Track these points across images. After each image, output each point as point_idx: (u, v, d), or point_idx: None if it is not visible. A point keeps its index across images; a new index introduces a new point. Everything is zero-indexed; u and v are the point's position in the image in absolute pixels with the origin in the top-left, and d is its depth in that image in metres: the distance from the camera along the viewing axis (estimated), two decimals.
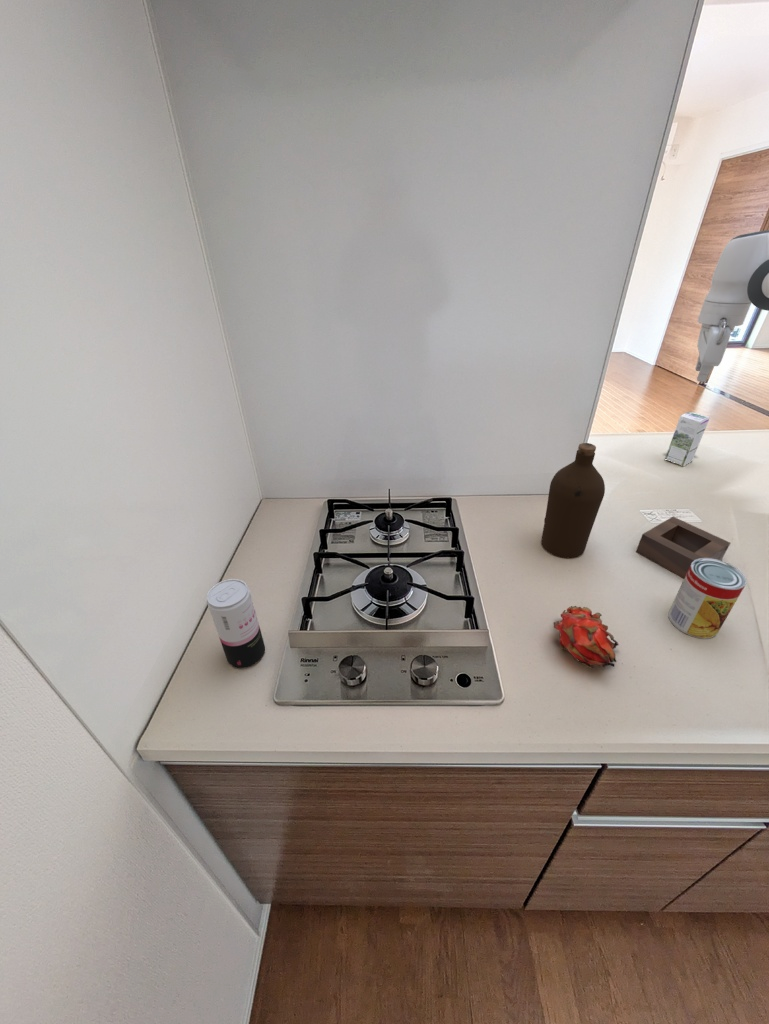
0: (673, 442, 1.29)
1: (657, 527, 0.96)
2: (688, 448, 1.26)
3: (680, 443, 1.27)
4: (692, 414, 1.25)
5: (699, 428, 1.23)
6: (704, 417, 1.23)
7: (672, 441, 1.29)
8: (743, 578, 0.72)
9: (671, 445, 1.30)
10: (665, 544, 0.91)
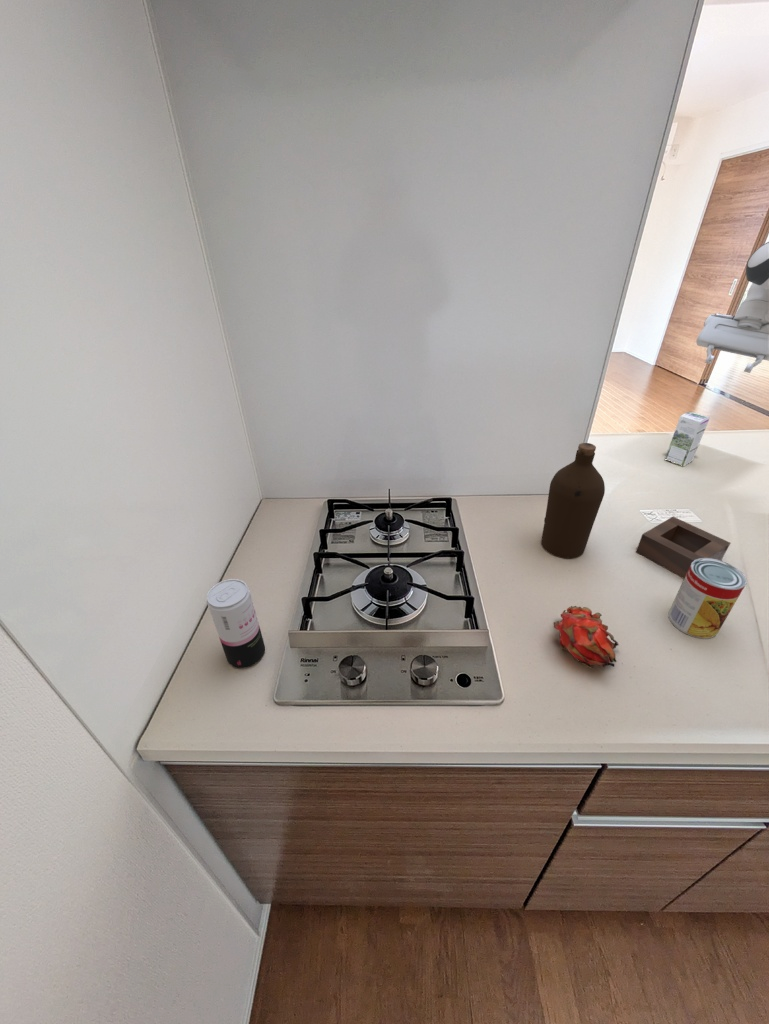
0: (673, 442, 1.29)
1: (657, 527, 0.96)
2: (688, 448, 1.26)
3: (680, 443, 1.27)
4: (692, 414, 1.25)
5: (699, 428, 1.23)
6: (704, 417, 1.23)
7: (672, 441, 1.29)
8: (743, 578, 0.72)
9: (671, 445, 1.30)
10: (665, 544, 0.91)
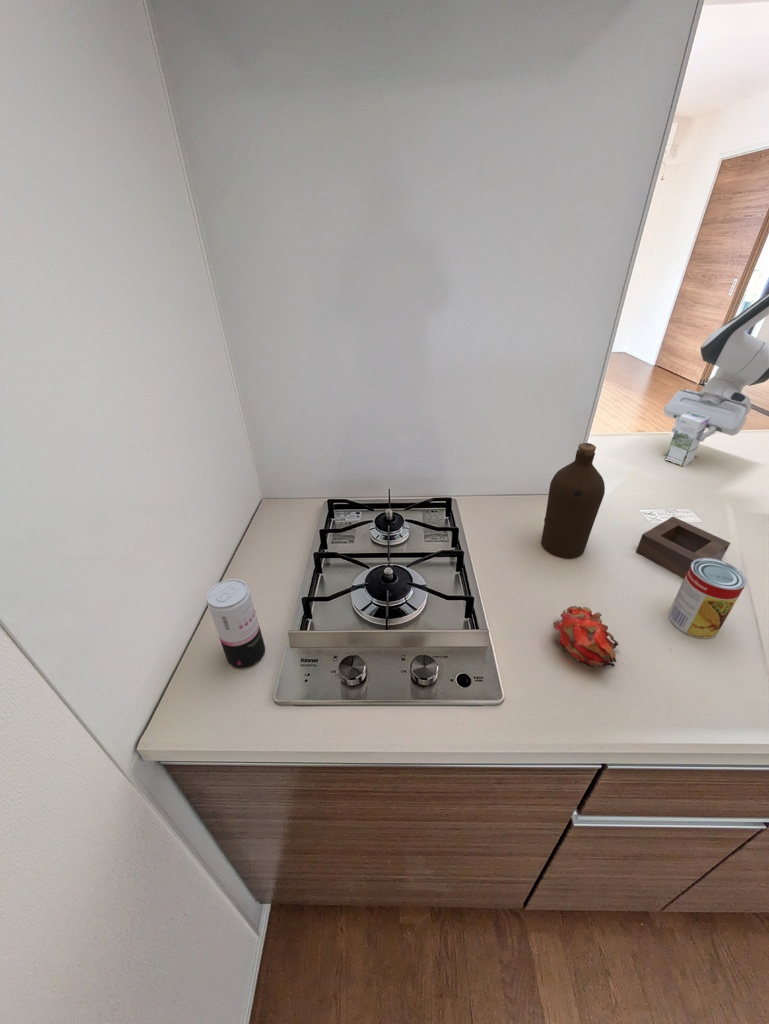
0: (673, 442, 1.29)
1: (657, 527, 0.96)
2: (688, 448, 1.26)
3: (680, 443, 1.27)
4: (692, 414, 1.25)
5: (699, 428, 1.23)
6: (704, 417, 1.23)
7: (672, 441, 1.29)
8: (743, 578, 0.72)
9: (671, 445, 1.30)
10: (665, 544, 0.91)
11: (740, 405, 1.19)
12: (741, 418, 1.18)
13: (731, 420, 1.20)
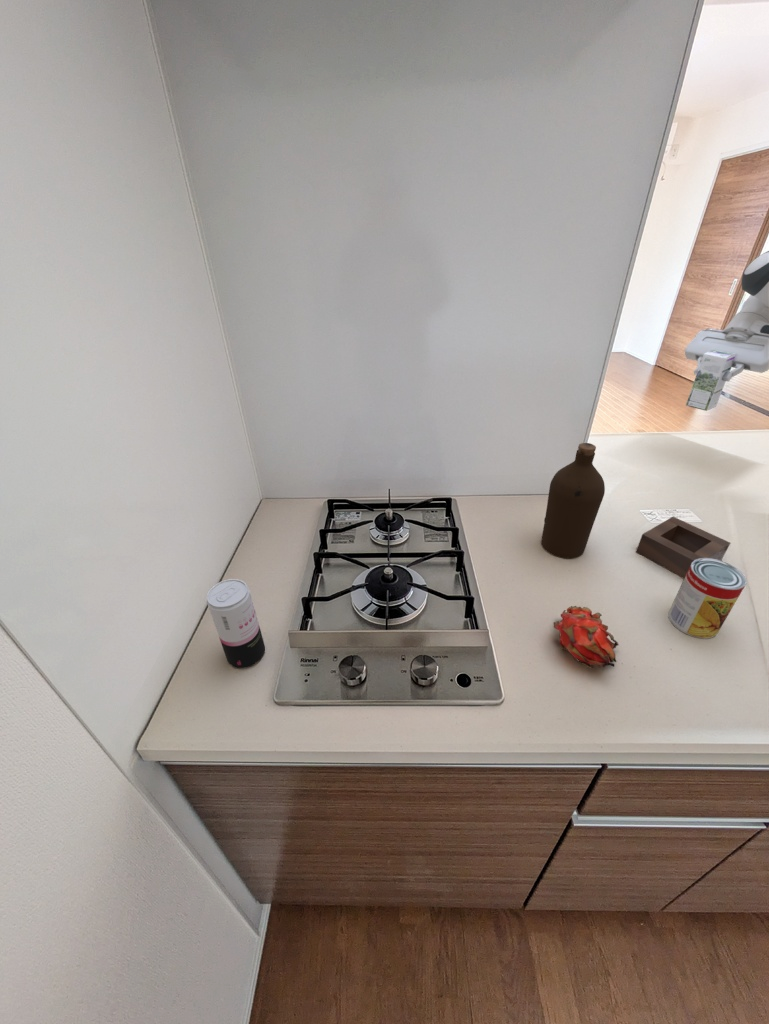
0: (695, 384, 1.19)
1: (657, 527, 0.96)
2: (713, 389, 1.15)
3: (703, 384, 1.17)
4: (717, 352, 1.15)
5: (725, 366, 1.12)
6: (730, 354, 1.13)
7: (694, 383, 1.19)
8: (743, 578, 0.72)
9: (693, 388, 1.19)
10: (665, 544, 0.91)
11: None
12: None
13: (760, 355, 1.09)
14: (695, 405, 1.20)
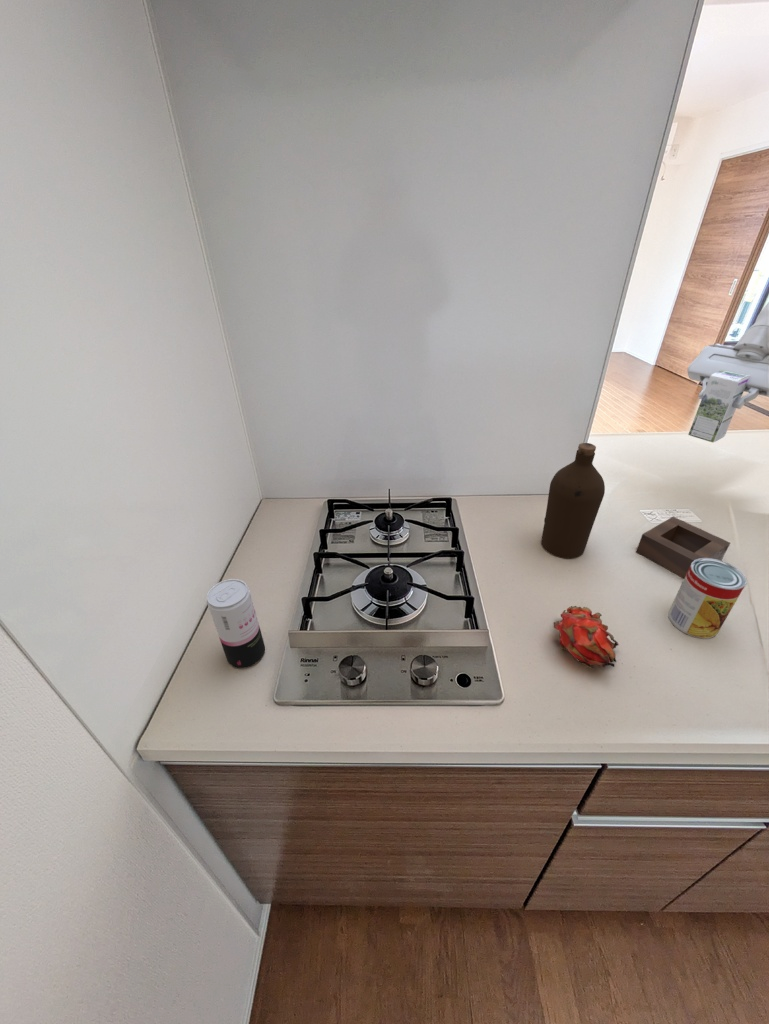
0: (700, 410, 0.99)
1: (657, 527, 0.96)
2: (721, 418, 0.96)
3: (710, 411, 0.98)
4: (726, 373, 0.95)
5: (736, 390, 0.93)
6: (743, 376, 0.93)
7: (699, 410, 0.99)
8: (743, 578, 0.72)
9: (697, 415, 1.00)
10: (665, 544, 0.91)
11: None
12: None
13: None
14: (699, 435, 1.01)
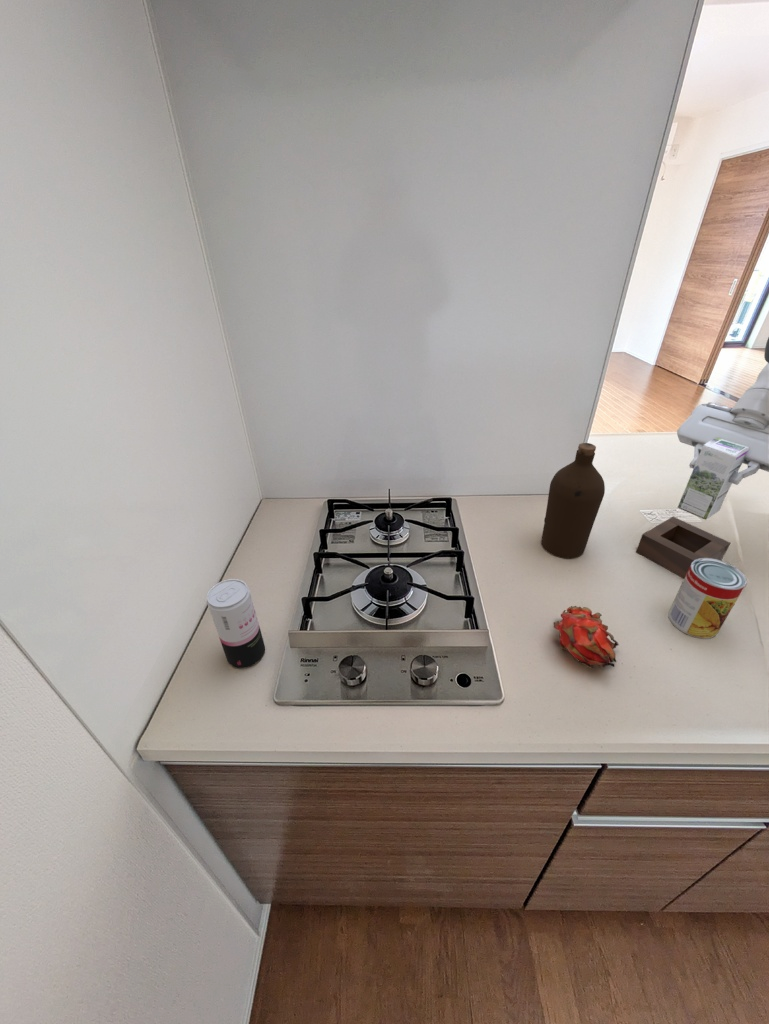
0: (691, 482, 0.85)
1: (657, 527, 0.96)
2: (716, 494, 0.82)
3: (702, 485, 0.84)
4: (722, 442, 0.82)
5: (733, 465, 0.79)
6: (741, 448, 0.79)
7: (690, 482, 0.85)
8: (743, 578, 0.72)
9: (688, 487, 0.86)
10: (665, 544, 0.91)
11: None
12: None
13: None
14: (690, 510, 0.87)
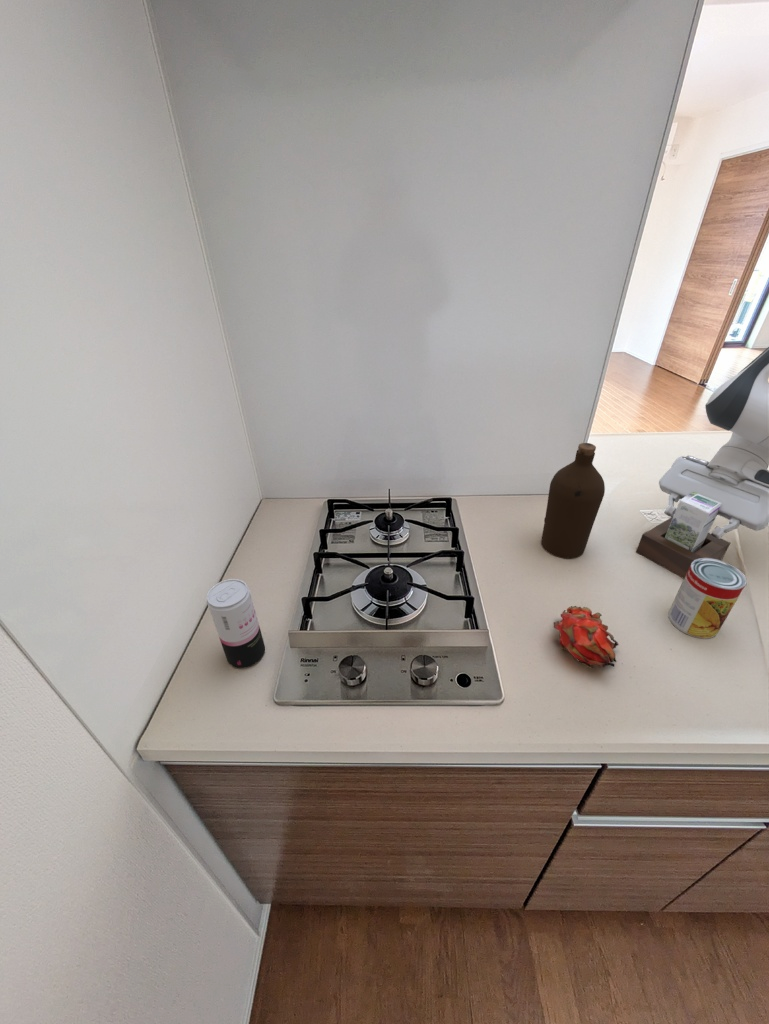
0: (669, 532, 0.92)
1: (657, 527, 0.96)
2: (692, 545, 0.89)
3: (680, 536, 0.91)
4: (697, 497, 0.88)
5: (707, 520, 0.86)
6: (714, 504, 0.86)
7: (669, 532, 0.92)
8: (743, 578, 0.72)
9: (667, 537, 0.93)
10: (665, 544, 0.91)
11: (768, 489, 0.82)
12: None
13: (755, 511, 0.83)
14: None
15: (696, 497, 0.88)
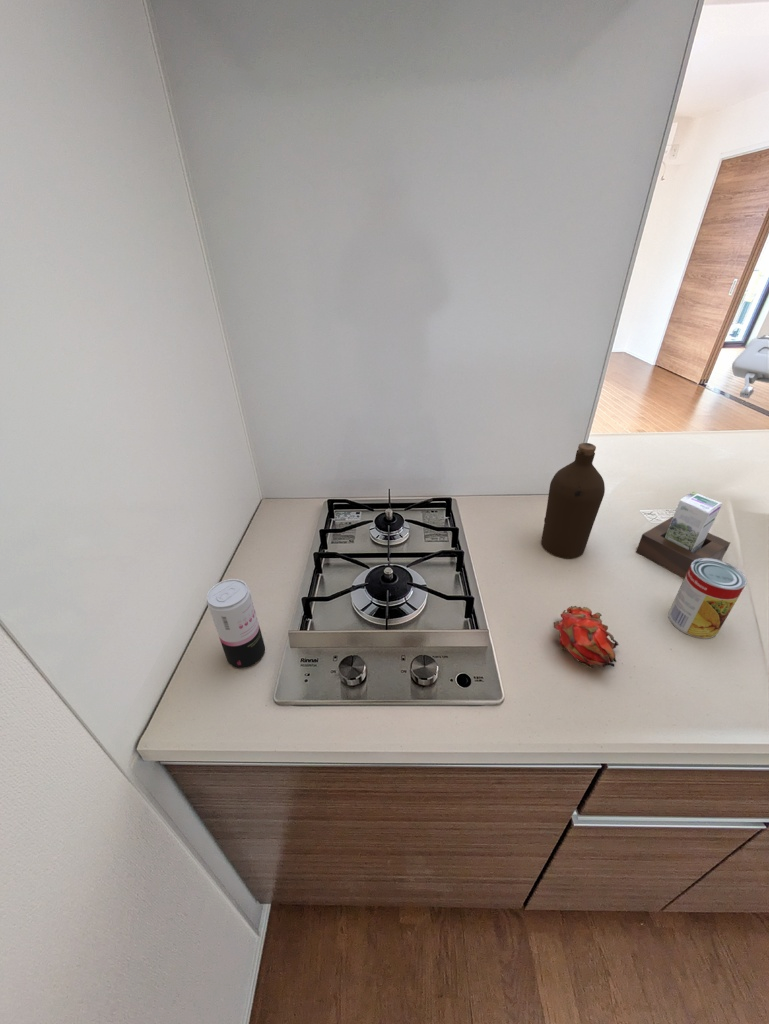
0: (669, 532, 0.92)
1: (657, 527, 0.96)
2: (692, 545, 0.89)
3: (680, 536, 0.91)
4: (697, 497, 0.88)
5: (707, 520, 0.86)
6: (714, 504, 0.86)
7: (669, 532, 0.92)
8: (743, 578, 0.72)
9: (667, 537, 0.93)
10: (665, 544, 0.91)
11: None
12: None
13: None
14: None
15: (696, 497, 0.88)
